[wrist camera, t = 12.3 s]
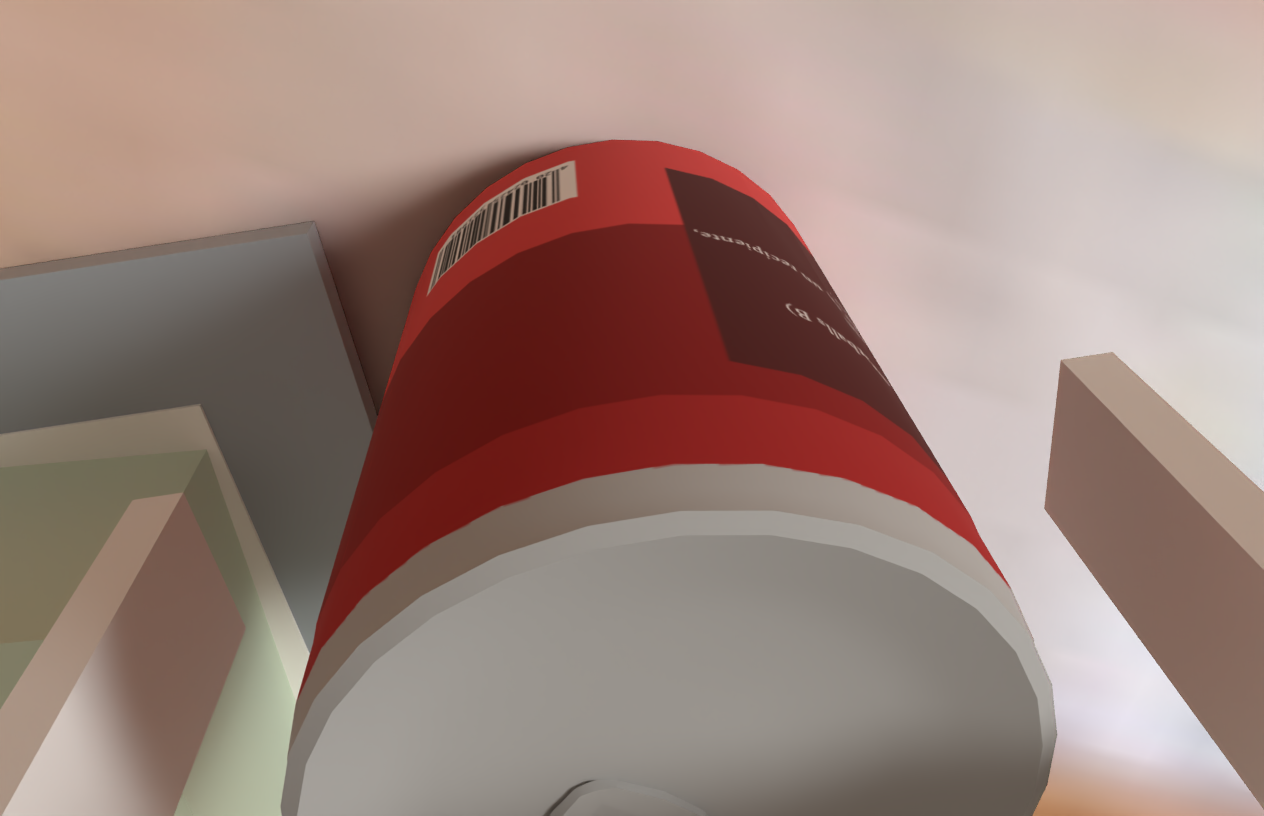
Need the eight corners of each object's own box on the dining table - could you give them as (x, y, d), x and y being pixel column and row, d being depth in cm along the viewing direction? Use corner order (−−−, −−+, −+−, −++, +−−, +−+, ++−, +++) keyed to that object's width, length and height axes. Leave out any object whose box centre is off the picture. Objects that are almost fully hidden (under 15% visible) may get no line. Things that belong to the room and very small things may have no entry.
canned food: (383, 451, 20) (235, 1009, 11) (459, 67, 16) (334, 415, 7) (727, 519, 22) (862, 1055, 12) (872, 185, 18) (1231, 597, 8)
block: (-264, 490, 19) (-506, 690, 14) (206, 449, 19) (106, 634, 15) (-60, 789, 23) (-196, 1005, 19) (313, 752, 24) (261, 958, 19)
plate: (-558, 353, 17) (-595, 372, 17) (313, 221, 17) (306, 234, 17) (-92, 871, 26) (-106, 895, 25) (496, 784, 26) (495, 806, 25)
